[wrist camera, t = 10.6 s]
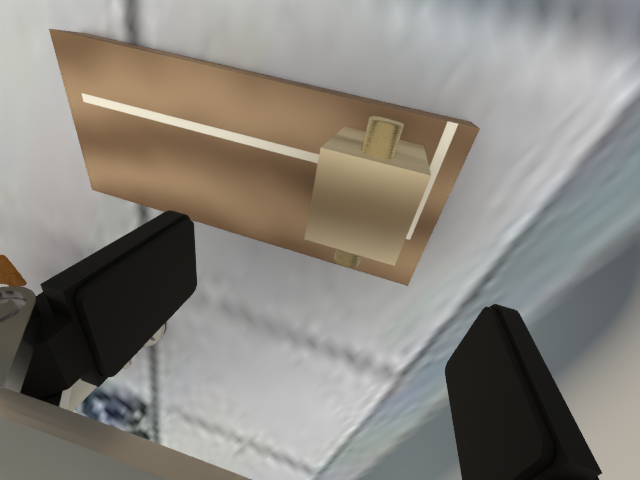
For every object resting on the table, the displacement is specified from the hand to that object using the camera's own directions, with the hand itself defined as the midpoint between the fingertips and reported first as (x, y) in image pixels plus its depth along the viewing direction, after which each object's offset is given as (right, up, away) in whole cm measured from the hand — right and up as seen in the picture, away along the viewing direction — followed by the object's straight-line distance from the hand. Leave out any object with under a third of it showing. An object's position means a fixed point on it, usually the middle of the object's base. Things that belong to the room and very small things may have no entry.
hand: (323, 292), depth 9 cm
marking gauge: (+3, +6, +10) cm, 12 cm away
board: (-5, +8, +14) cm, 17 cm away
